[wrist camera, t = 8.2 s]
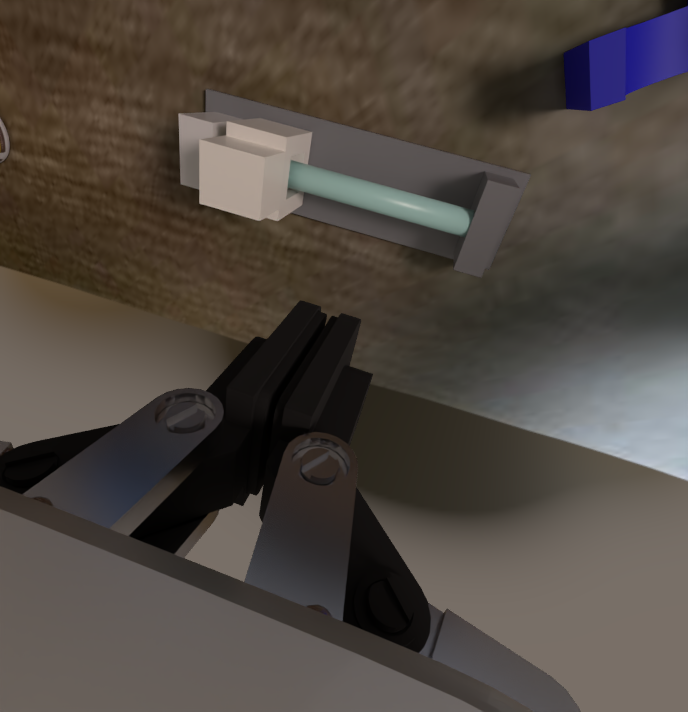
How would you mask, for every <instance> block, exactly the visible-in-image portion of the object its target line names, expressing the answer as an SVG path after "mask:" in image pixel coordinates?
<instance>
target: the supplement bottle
mask: <svg viewBox="0 0 688 712" xmlns="http://www.w3.org/2000/svg"><path fill="white" fill-rule="evenodd" d="M9 149H10V142H9V136H8V133H7V130H6V127H5V125H4V123H3V121H2V120H1V118H0V163H1V162H2V161H4V160H5V159H6V158H7V156H8V154H9Z"/></svg>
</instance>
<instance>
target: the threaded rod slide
mask: <svg viewBox="0 0 688 712" xmlns="http://www.w3.org/2000/svg"><path fill="white" fill-rule="evenodd" d="M257 118H262V119H266V120H269V121H273V122H277V123H281V124H284V125H288V126H292V127H296V128H299V129H303V130H307V131H310V132H312V139H311V146H310V153H309V160H308V164H304V163H300V162H297V161H293V160H291V162H290V170H289V179H288V188H291V189H295V190H298V191H302V192H304V195H303V203H302V205H301V206H300V207H298V208H297V209H295V210H294V211H292V212H291V213H294V214H297V215H300V216H304V217H307V218H311V219H314V220H318V221H321V222H325V223H328V224H332V225H335V226H339V227H342V228H346V229H349V230H353V231H356V232H360V233H363V234H367V235H370V236H374V237H377V238H380V239H384V240H387V241H391V242H394V243H398V244H401V245H405V246H408V247H412V248H415V249H419V250H422V251H426V252H429V253H433V254H436V255H440V256H443V257H447V258H450V259H454V264H453V270H456V271H459V272H462V273H466V274H469V275H473V276H476V277H480V278H481V277H482V275H483V273H484V270H485V269H488V270H489V269H490V267H491V264H492V262H493V260H494V258H495V255H496V253H497V251H498V249H499V246H500V244H501V242H502V240H503V237H504V235H505V233H506V231H507V228H508V226H509V224H510V221H511V219H512V217H513V215H514V212H515V210H516V208H517V206H518V203H519V201H520V199H521V197H522V194H523V192H524V190H525V188H526V185H527V183H528V181H529V179H530V176H531V174H528V173H524V172H521V171H517V170H513V169H509V168H506V167H502V166H498V165H494V164H490V163H487V162H483V161H479V160H475V159H472V158H468V157H464V156H460V155H456V154H453V153H449V152H445V151H441V150H438V149H434V148H430V147H426V146H422V145H419V144H415V143H411V142H407V141H404V140H400V139H396V138H392V137H388V136H385V135H381V134H377V133H373V132H370V131H366V130H362V129H358V128H354V127H351V126H347V125H343V124H339V123H336V122H332V121H328V120H324V119H320V118H317V117H313V116H309V115H305V114H302V113H298V112H294V111H290V110H286V109H283V108H279V107H275V106H271V105H268V104H264V103H260V102H256V101H252V100H249V99H245V98H241V97H237V96H234V95H230V94H226V93H222V92H218V91H215V90H211V89H206V112H202V113H180V114H179V145H180V181H181V184H182V185H185V186H189V187H192V188H195V189H199V139H205V138H212V137H219V136H225V135H226V126H227V121H234V120H245V119H257Z"/></svg>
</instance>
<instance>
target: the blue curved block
mask: <svg viewBox="0 0 688 712" xmlns="http://www.w3.org/2000/svg"><path fill="white" fill-rule="evenodd" d="M564 70H565V89H566V108H567V109H574V110H587V111H592V110H595V109H598V108H601V107H604V106H608V105H611V104H614V103H617V102H620V101H623V100H625V95H627V94H629V93H631V92H633V91H635V90H638V89H640V88H642V87H645V86H648V85H650V84H653V83H656V82H658V81H661V80H664V79H667V78H670V77H672V76H675V75H678V74H681V73H684V72H687V71H688V0H687V7H684V8H681V9H679V10H676V11H673V12H671V13H668V14H665V15H662V16H660V17H657V18H654V19H651V20H649V21H646V22H643V23H640V24H637V25H634V26H632V27H629V28H626V27H625V28H623V29H620V30H617V31H615V32H612V33H609V34H607V35H604V36H601V37H599V38H596V39H593V40H591V41H588V42H586V43H584V44H582V45H580V46H577V47H575V48H573V49H571V50H569V51H567V52H565V53H564Z"/></svg>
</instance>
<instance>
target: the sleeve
mask: <svg viewBox="0 0 688 712" xmlns="http://www.w3.org/2000/svg"><path fill="white" fill-rule="evenodd" d="M311 139H312V132H310V131H307V130H303V129H299V128H296V127H292V126H288V125H284V124H281V123H277V122H273V121H269V120H266V119H262V118H257V119H245V120H234V121H227V126H226V135H225V136H219V137H212V138H205V139H199V204H203V205H206V206H210V207H213V208H217V209H220V210H223V211H227V212H230V213H234V214H237V215H241V216H244V217H247V218H251V219H254V220H258V221H261V220H262V219H264V218H269V219H272V220H276V221H279V220H280V219H282V218H283V217H285V216H286V215H288V214H289V213H291V212H292V211H294V210H295V209H297V208H298V207H300V206H301V205H302V203H303V195H304V192H302V191H298V190H295V189H291V188H288V179H289V170H290V162H291V160H293V161H297V162H300V163H304V164H308V160H309V153H310V146H311Z"/></svg>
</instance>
